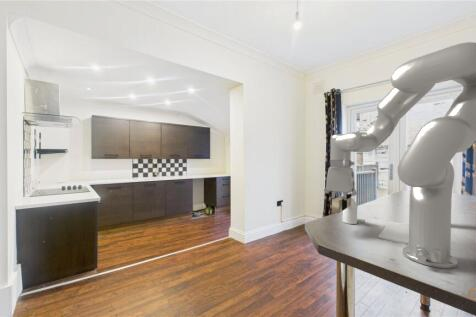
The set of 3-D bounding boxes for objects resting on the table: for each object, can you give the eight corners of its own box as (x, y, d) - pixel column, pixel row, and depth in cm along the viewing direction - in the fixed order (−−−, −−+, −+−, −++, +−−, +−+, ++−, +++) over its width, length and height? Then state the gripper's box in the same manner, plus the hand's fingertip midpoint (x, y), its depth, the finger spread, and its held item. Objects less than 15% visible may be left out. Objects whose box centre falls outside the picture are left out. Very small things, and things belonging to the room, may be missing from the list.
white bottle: (357, 196, 103) (357, 198, 98) (357, 222, 103) (357, 225, 98) (343, 195, 106) (342, 196, 101) (342, 220, 106) (342, 223, 101)
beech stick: (338, 213, 86) (338, 200, 86) (331, 212, 88) (331, 200, 88) (351, 205, 100) (351, 194, 99) (345, 204, 101) (345, 193, 101)
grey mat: (408, 244, 77) (408, 242, 77) (378, 238, 83) (378, 236, 83) (414, 226, 96) (414, 225, 96) (389, 222, 102) (389, 220, 102)
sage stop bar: (363, 223, 101) (363, 220, 101) (340, 218, 108) (340, 216, 108) (364, 222, 102) (364, 219, 102) (342, 218, 109) (342, 215, 109)
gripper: (364, 164, 88) (363, 210, 89) (323, 163, 99) (323, 204, 99) (359, 165, 83) (359, 214, 83) (317, 164, 93) (317, 207, 94)
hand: (339, 208), depth 91 cm, fingers closed on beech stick, 2 cm apart
